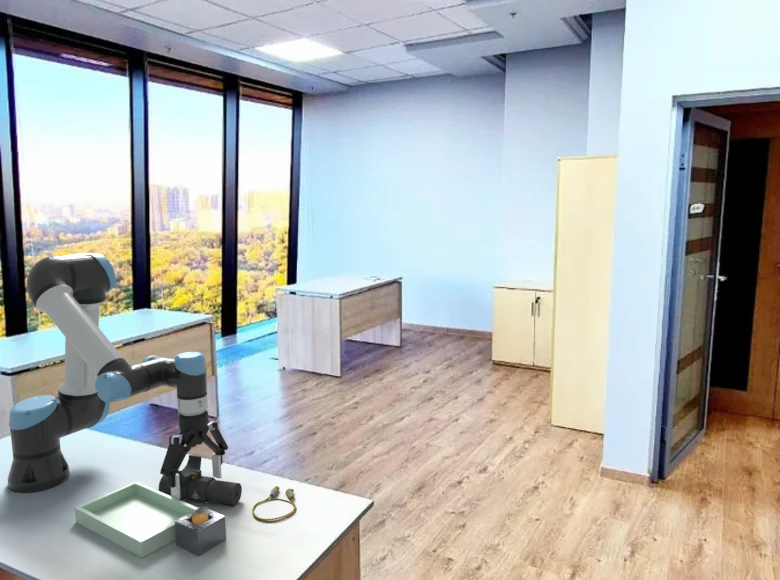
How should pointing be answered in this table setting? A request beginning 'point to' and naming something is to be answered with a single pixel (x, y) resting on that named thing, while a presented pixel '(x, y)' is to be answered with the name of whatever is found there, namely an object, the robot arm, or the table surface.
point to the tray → (134, 517)
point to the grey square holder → (200, 532)
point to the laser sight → (202, 485)
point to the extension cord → (273, 493)
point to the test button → (199, 518)
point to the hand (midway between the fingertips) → (197, 487)
